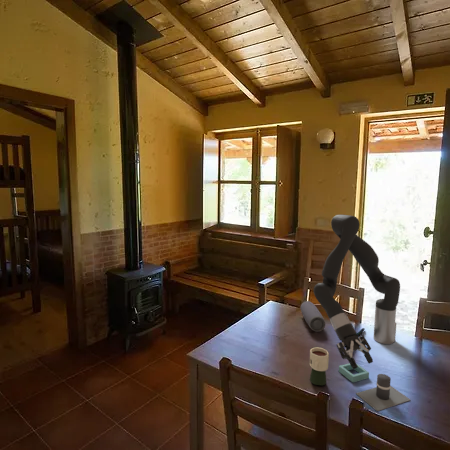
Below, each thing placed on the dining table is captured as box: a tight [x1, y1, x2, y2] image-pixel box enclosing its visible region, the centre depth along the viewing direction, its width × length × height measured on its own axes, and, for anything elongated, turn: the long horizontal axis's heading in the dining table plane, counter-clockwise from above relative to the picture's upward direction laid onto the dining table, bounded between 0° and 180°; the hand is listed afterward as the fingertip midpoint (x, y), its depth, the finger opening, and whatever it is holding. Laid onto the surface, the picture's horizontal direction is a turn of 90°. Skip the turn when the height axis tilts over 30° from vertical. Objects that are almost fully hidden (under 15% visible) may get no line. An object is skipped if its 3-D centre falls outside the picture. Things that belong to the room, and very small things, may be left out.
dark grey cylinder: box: [376, 373, 392, 400], centre depth 119 cm, size 5×5×8 cm
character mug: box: [309, 347, 330, 386], centre depth 127 cm, size 11×7×13 cm, turn 153°
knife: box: [356, 327, 365, 338], centre depth 161 cm, size 31×3×4 cm, turn 137°
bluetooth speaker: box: [299, 300, 326, 333], centre depth 179 cm, size 23×9×10 cm, turn 179°
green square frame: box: [338, 362, 370, 383], centre depth 133 cm, size 8×8×2 cm
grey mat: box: [355, 385, 411, 412], centre depth 119 cm, size 16×10×1 cm, turn 111°
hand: (363, 365), depth 126 cm, fingers open, 8 cm apart
